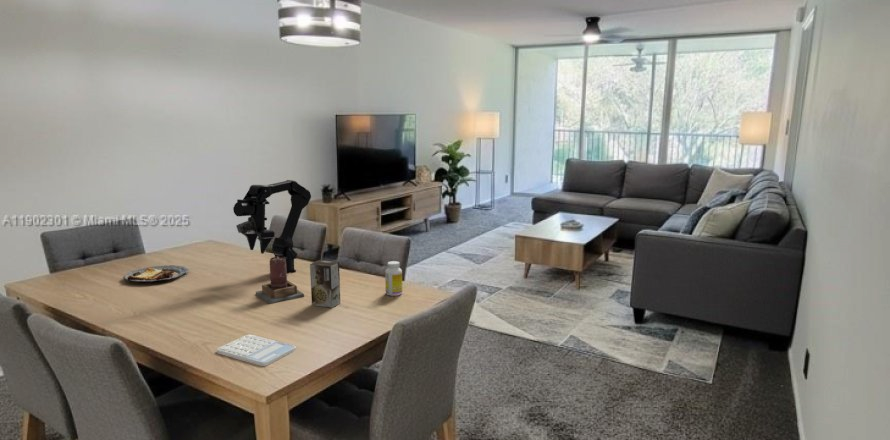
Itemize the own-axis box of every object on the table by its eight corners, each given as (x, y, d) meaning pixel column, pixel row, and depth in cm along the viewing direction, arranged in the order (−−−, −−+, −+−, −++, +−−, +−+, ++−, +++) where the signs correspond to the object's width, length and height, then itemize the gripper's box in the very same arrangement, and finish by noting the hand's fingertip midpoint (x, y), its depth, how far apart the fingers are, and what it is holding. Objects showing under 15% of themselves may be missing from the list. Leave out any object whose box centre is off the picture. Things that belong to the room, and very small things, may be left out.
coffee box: (341, 302, 204) (340, 261, 201) (332, 308, 198) (331, 266, 195) (320, 300, 207) (318, 259, 204) (310, 305, 201) (309, 263, 198)
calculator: (249, 338, 172) (249, 332, 172) (297, 350, 163) (297, 345, 163) (215, 354, 160) (214, 348, 160) (264, 368, 152) (264, 362, 151)
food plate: (168, 286, 221) (167, 277, 221) (112, 285, 222) (111, 277, 221) (197, 270, 246) (196, 263, 245) (146, 270, 246) (146, 262, 246)
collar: (289, 287, 221) (289, 278, 220) (304, 296, 210) (303, 286, 210) (255, 294, 213) (255, 284, 212) (268, 303, 202) (268, 293, 201)
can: (285, 289, 216) (283, 255, 213) (289, 293, 210) (287, 258, 208) (269, 291, 213) (267, 257, 210) (273, 296, 207) (271, 261, 205)
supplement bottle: (405, 292, 217) (405, 261, 214) (397, 297, 211) (396, 265, 208) (390, 290, 219) (390, 259, 217) (382, 294, 213) (382, 263, 211)
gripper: (229, 213, 227) (228, 249, 228) (250, 218, 214) (249, 257, 216) (254, 212, 235) (253, 247, 236) (276, 217, 222) (274, 254, 224)
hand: (257, 251), depth 228 cm, fingers open, 9 cm apart
